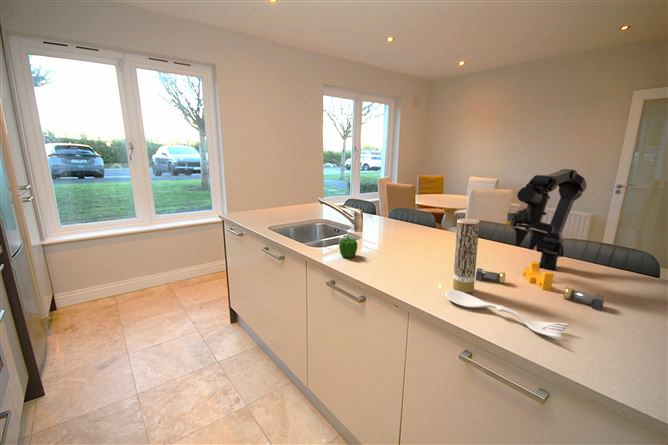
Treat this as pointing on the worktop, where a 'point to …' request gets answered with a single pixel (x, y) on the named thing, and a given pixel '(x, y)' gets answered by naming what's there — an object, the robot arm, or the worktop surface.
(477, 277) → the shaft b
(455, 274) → the paper tube
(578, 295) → the shaft
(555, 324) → the white plastic spork
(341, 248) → the bell pepper
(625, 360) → the worktop surface
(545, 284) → the pipe clamp
